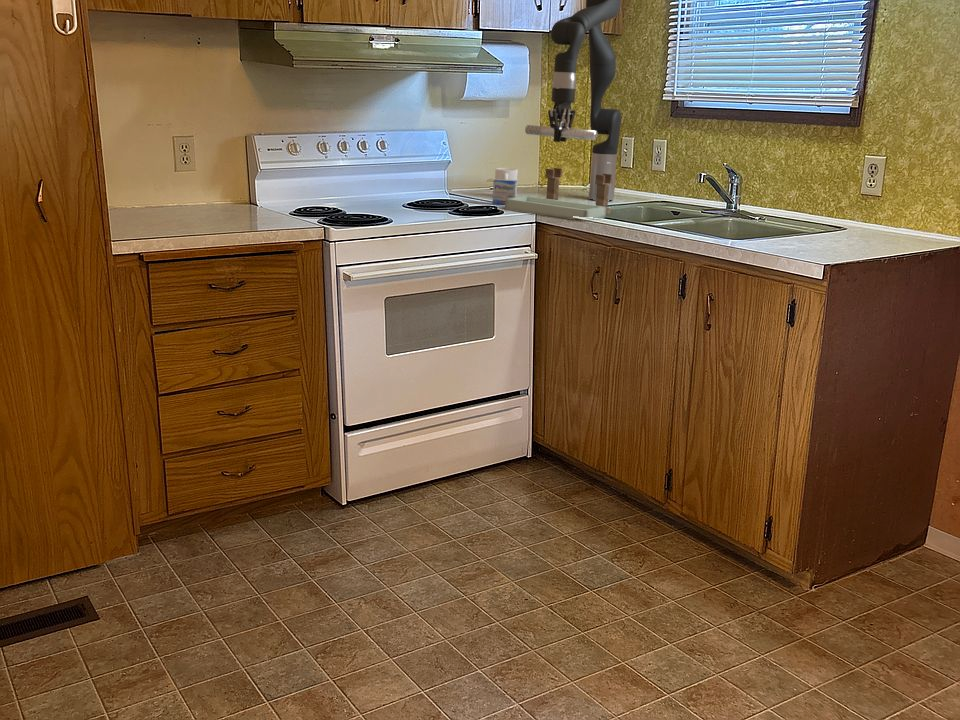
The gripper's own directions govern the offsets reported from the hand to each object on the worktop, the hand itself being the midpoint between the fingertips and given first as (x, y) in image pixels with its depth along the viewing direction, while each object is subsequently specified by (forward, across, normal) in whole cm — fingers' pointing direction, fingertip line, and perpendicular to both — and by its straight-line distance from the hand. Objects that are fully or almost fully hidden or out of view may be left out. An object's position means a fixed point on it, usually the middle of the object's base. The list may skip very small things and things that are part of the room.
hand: (559, 141), depth 305 cm
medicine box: (+24, -3, -23) cm, 33 cm away
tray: (+24, 0, 0) cm, 24 cm away
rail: (-1, 0, 0) cm, 1 cm away
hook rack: (+24, -14, 0) cm, 27 cm away
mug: (+24, -18, -33) cm, 45 cm away
